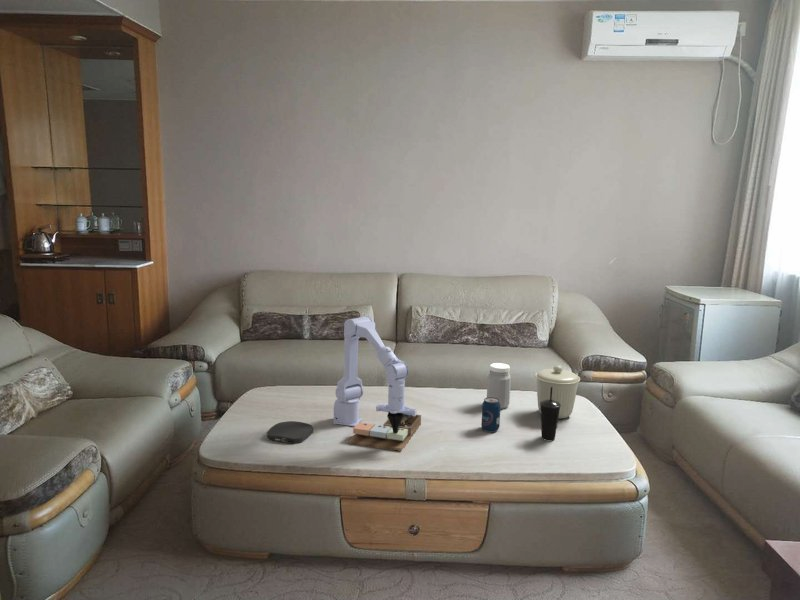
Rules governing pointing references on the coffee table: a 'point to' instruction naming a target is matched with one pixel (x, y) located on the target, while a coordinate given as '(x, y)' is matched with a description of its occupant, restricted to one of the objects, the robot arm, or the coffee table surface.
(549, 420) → the drinking cup
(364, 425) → the tile
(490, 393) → the jar
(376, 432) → the tile
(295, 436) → the media streaming box
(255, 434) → the coffee table surface
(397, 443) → the board
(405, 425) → the eagle figurine
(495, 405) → the soda can
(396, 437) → the tile
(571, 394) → the canister
